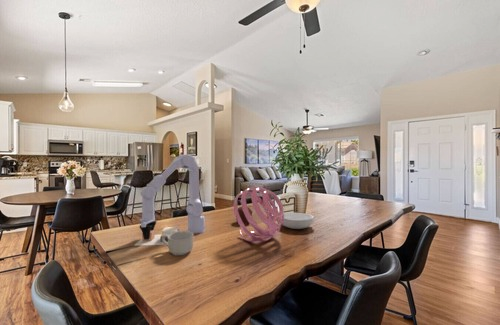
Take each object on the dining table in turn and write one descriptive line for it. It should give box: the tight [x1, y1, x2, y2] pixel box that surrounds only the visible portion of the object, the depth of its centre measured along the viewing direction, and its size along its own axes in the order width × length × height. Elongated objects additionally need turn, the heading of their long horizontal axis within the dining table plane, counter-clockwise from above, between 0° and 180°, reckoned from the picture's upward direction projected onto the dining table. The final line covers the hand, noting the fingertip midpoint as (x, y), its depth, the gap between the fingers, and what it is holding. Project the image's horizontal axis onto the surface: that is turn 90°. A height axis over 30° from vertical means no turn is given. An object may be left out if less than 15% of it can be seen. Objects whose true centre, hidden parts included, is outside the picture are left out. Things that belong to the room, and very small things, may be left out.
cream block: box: [161, 226, 180, 236], centre depth 121 cm, size 7×7×2 cm
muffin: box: [235, 206, 253, 225], centre depth 155 cm, size 12×11×10 cm
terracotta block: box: [141, 230, 155, 241], centre depth 120 cm, size 4×4×4 cm
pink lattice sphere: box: [233, 186, 285, 243], centre depth 123 cm, size 28×28×27 cm
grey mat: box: [133, 233, 168, 247], centre depth 121 cm, size 20×16×1 cm
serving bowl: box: [280, 212, 314, 230], centre depth 145 cm, size 21×21×7 cm
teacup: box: [162, 230, 194, 257], centre depth 105 cm, size 14×11×8 cm
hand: (148, 237), depth 120 cm, fingers closed on terracotta block, 4 cm apart
